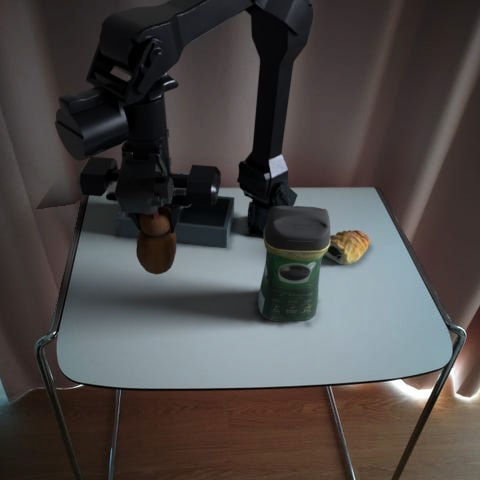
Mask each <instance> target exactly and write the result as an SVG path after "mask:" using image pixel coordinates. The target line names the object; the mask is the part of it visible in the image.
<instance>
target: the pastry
mask: <svg viewBox="0 0 480 480" xmlns="http://www.w3.org/2000/svg"><path fill="white" fill-rule="evenodd" d="M370 243H371V239H370V237H369V236H368V235H367V234H365V233H364V232H363V231H362V230H356V229H355V230H351V229H349V230H342V231H338V232H336V233H335V234H332V235H331V234H330V245H329V248H328V250H327V251H326V253H325V254H324V255H323V256H325V257H327V258H329V259H331V260H333V261H335V262H336V263H337V264H340V265H351V264H352V265H353V264H354V263H356V262H357V261H359V259H360V258H362V257H363V255H364V254H365V253H366V251H367V250H368V249H369V246H370Z"/></svg>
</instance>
